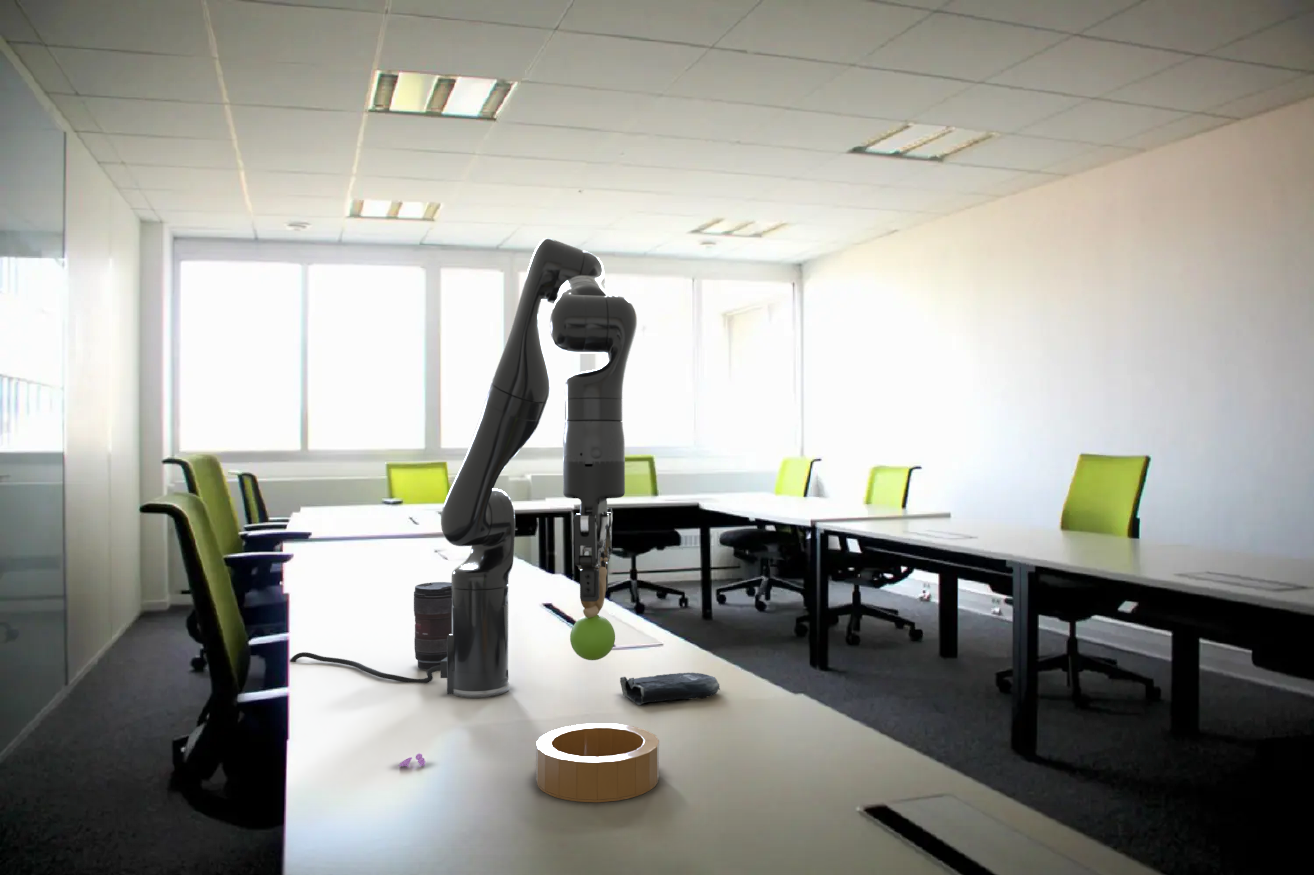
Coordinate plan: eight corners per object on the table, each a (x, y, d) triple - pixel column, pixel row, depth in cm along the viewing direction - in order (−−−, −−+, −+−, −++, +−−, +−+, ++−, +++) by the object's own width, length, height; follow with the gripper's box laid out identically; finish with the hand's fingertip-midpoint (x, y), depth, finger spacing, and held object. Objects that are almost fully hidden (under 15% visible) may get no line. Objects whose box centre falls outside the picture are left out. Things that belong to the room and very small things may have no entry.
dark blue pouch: (644, 718, 139) (730, 693, 145) (638, 682, 139) (723, 659, 146) (623, 710, 147) (704, 688, 154) (617, 676, 148) (698, 655, 154)
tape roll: (523, 799, 103) (523, 759, 103) (551, 757, 117) (551, 721, 117) (651, 804, 101) (651, 764, 101) (663, 760, 116) (663, 725, 116)
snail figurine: (624, 654, 113) (624, 557, 113) (604, 666, 107) (604, 564, 107) (584, 651, 114) (584, 556, 115) (562, 663, 108) (562, 562, 109)
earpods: (405, 779, 113) (404, 774, 112) (398, 767, 114) (398, 763, 113) (426, 765, 115) (427, 761, 113) (420, 754, 115) (420, 750, 114)
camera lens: (404, 669, 165) (404, 586, 165) (431, 660, 172) (431, 580, 172) (441, 673, 162) (441, 589, 162) (467, 663, 169) (467, 583, 169)
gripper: (574, 458, 119) (575, 587, 118) (551, 459, 104) (551, 606, 104) (631, 458, 118) (632, 588, 118) (616, 459, 104) (616, 607, 103)
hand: (594, 596), depth 111 cm, fingers closed on snail figurine, 6 cm apart
